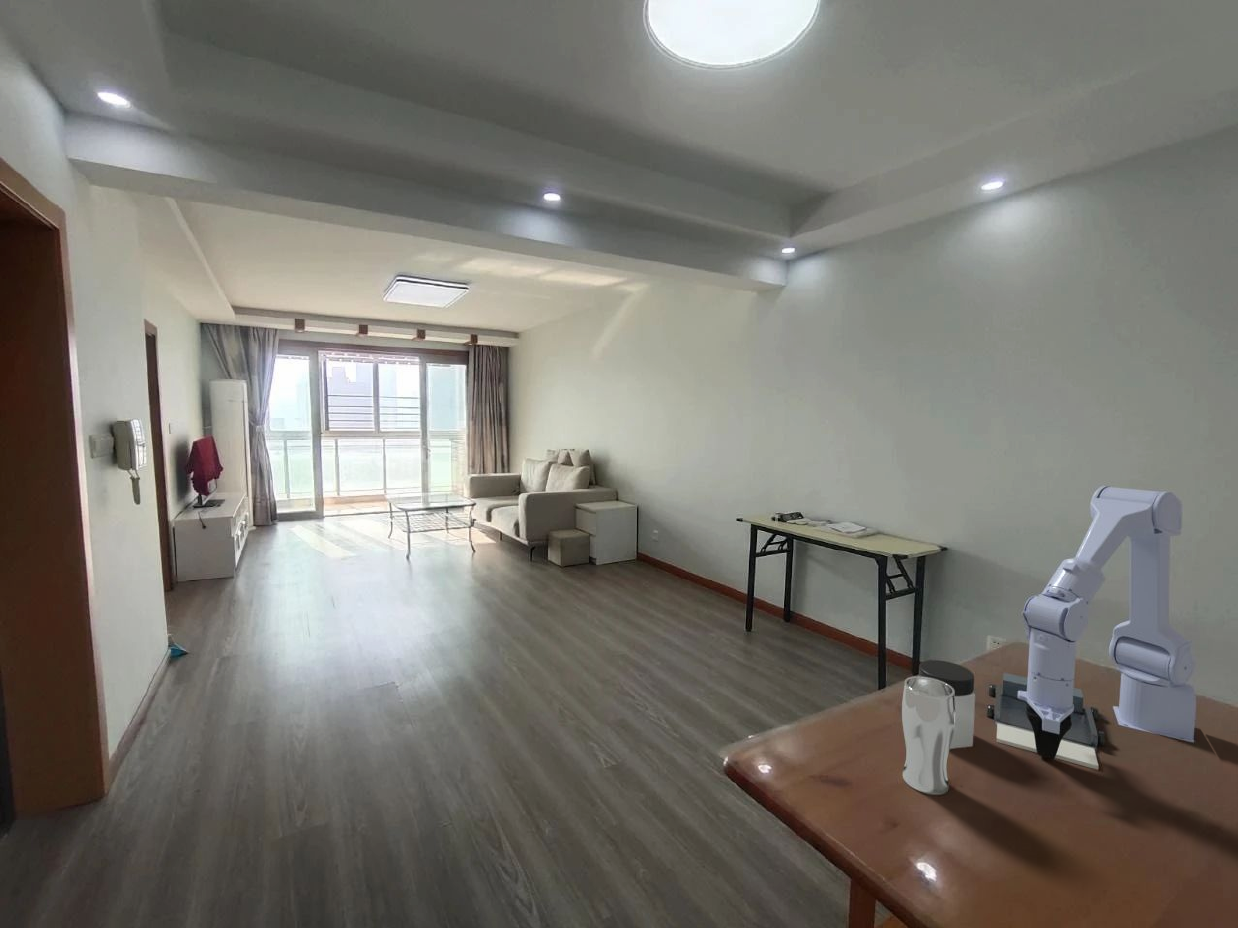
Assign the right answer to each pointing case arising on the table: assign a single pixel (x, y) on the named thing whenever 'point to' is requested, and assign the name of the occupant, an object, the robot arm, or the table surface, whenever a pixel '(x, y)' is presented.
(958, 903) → the table surface
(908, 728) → the beer glass
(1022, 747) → the panel
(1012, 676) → the grey piece
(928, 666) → the jar
